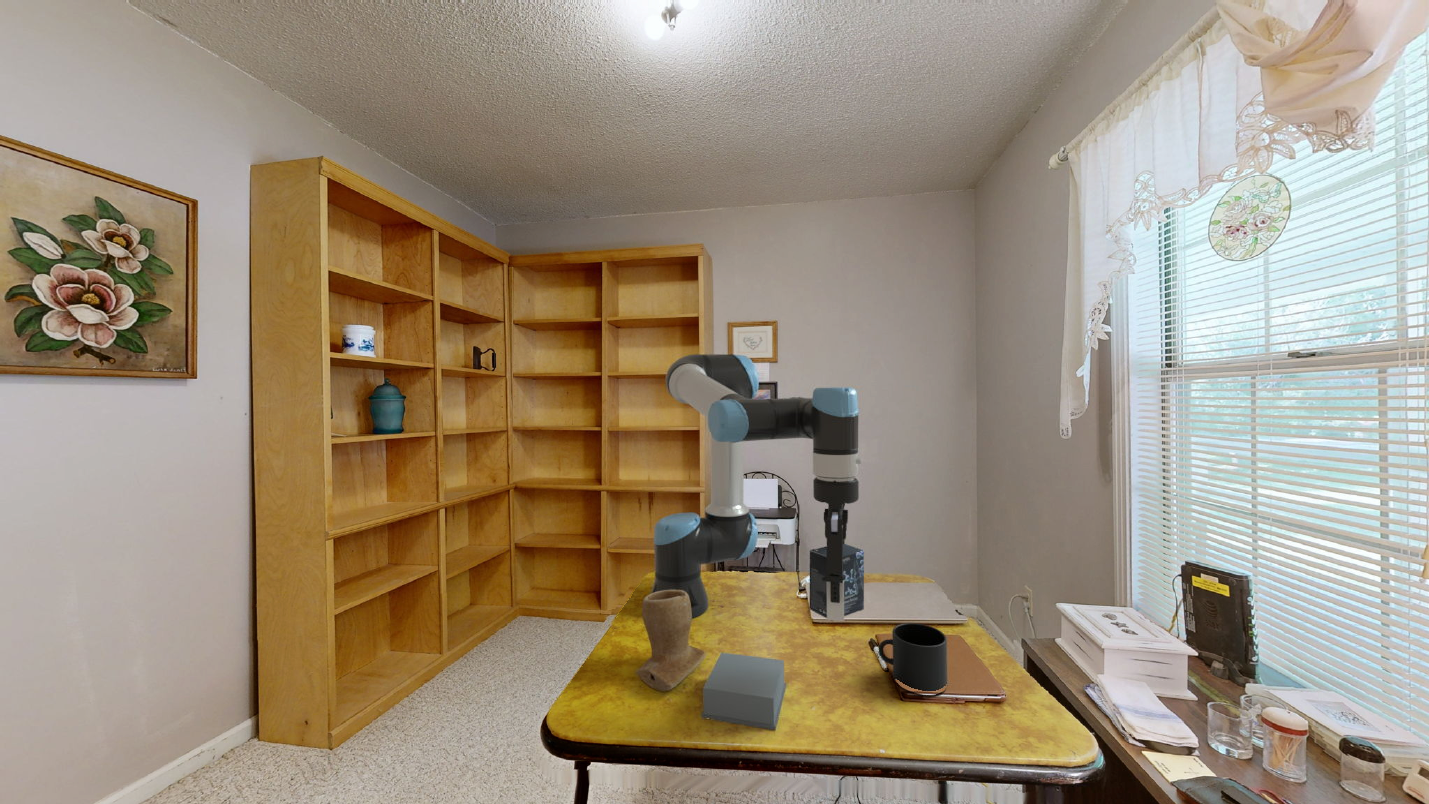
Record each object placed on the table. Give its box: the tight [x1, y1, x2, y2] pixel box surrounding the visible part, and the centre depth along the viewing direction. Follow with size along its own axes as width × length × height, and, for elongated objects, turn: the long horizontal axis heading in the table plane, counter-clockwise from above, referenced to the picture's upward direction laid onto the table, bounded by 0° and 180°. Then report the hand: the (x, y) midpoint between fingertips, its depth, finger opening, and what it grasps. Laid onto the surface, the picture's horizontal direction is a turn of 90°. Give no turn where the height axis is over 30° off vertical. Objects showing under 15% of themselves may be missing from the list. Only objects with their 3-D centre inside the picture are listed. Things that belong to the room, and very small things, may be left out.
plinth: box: [700, 652, 787, 731], centre depth 89 cm, size 13×13×5 cm
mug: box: [878, 622, 948, 691], centre depth 95 cm, size 9×12×9 cm
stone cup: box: [636, 590, 707, 692], centre depth 100 cm, size 15×12×15 cm
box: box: [809, 543, 865, 622], centre depth 87 cm, size 8×6×11 cm
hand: (836, 606), depth 87 cm, fingers closed on box, 9 cm apart
